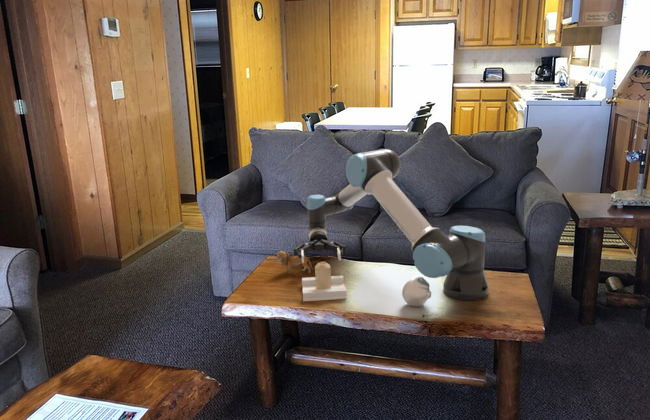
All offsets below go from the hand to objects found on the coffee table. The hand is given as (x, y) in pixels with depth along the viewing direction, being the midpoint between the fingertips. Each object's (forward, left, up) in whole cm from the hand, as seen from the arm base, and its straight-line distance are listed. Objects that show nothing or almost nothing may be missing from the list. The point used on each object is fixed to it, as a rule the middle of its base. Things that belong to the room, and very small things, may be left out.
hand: (321, 258), depth 198 cm
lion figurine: (+10, -10, -9) cm, 17 cm away
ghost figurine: (-30, +25, -9) cm, 40 cm away
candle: (0, +10, -8) cm, 13 cm away
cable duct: (0, +10, -9) cm, 13 cm away
